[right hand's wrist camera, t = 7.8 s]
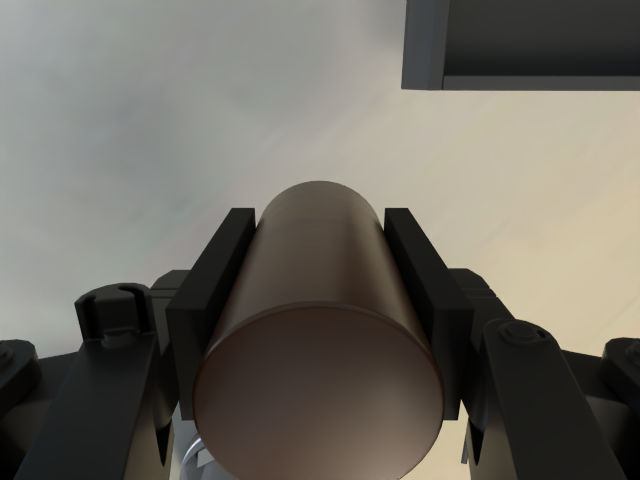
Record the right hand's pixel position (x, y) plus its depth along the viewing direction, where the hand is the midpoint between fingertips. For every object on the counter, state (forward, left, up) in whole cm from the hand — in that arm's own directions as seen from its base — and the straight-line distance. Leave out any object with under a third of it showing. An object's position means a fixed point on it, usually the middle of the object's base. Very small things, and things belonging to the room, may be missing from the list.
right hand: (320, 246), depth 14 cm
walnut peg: (0, 0, 0) cm, 0 cm away
